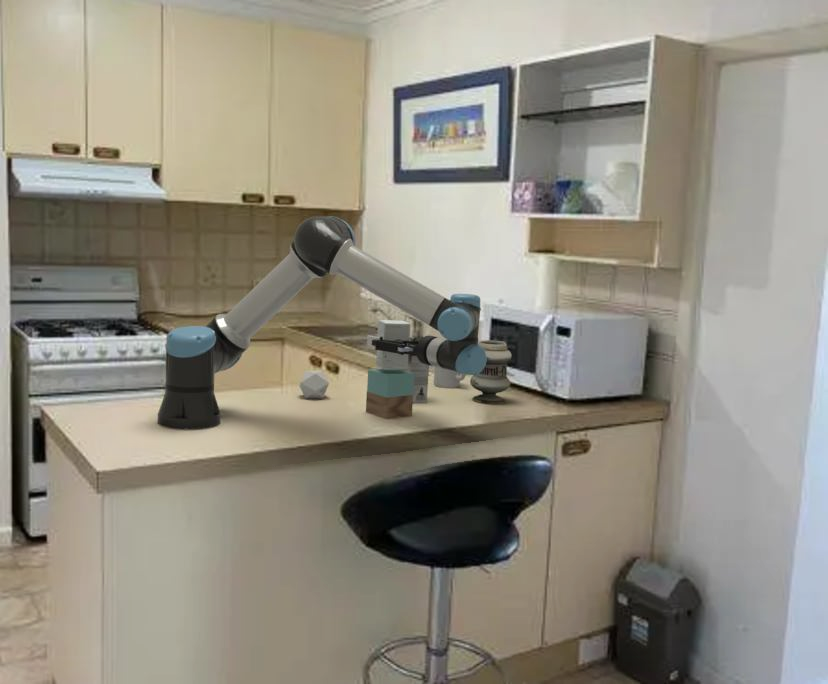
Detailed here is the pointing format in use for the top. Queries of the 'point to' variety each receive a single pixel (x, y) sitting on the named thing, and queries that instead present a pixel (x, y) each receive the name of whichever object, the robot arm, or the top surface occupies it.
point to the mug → (447, 378)
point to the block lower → (389, 406)
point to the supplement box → (394, 333)
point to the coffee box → (418, 378)
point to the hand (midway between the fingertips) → (382, 339)
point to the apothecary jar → (492, 373)
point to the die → (314, 384)
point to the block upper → (390, 382)
